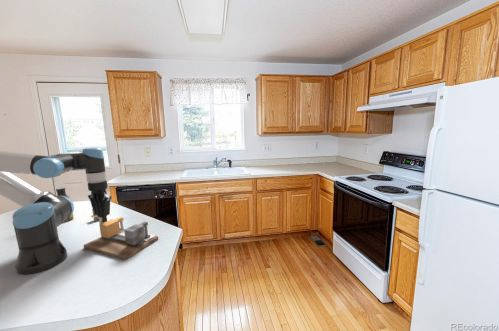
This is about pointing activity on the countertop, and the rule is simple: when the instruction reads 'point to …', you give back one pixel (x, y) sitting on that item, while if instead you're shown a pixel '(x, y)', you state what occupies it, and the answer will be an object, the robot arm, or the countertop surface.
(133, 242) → the brown board with bar
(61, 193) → the sauce bottle
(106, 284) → the countertop surface
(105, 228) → the block
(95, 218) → the architectural model
